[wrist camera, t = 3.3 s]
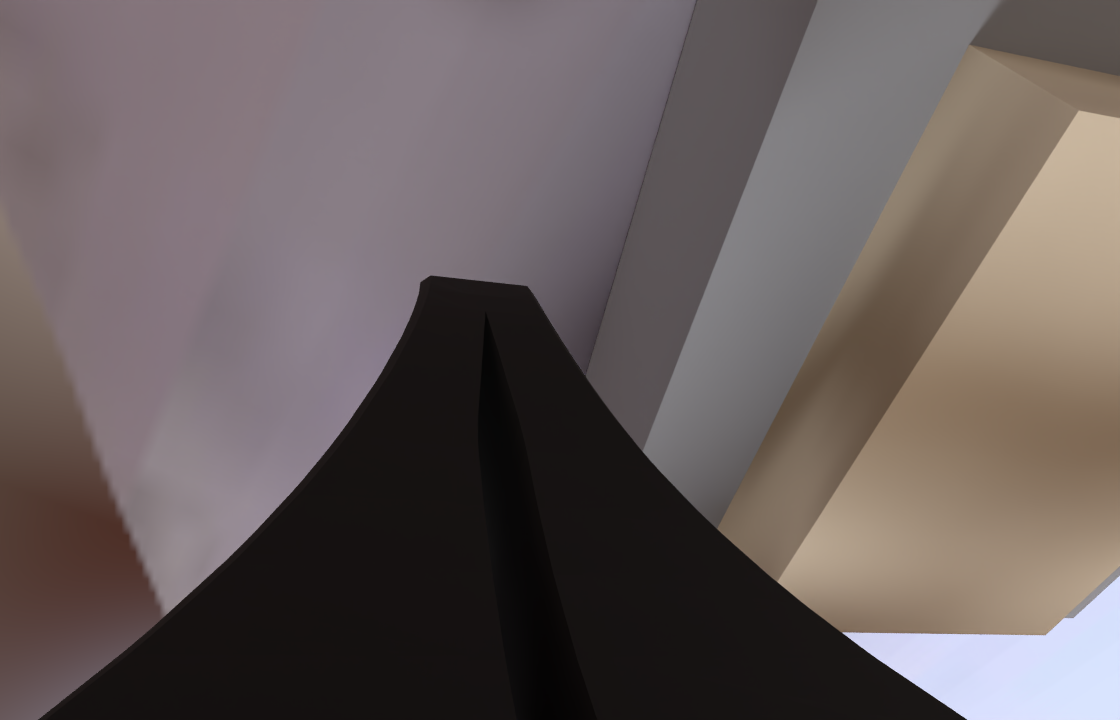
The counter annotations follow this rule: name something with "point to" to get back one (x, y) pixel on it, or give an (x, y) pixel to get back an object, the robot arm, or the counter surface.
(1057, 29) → the grey box
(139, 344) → the counter surface
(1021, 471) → the tan rectangular block
